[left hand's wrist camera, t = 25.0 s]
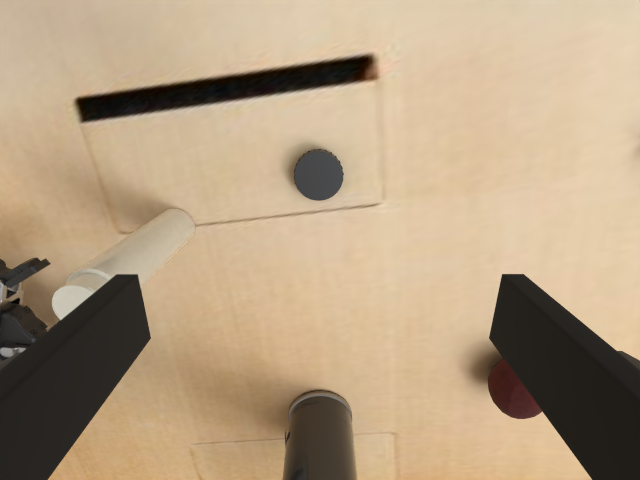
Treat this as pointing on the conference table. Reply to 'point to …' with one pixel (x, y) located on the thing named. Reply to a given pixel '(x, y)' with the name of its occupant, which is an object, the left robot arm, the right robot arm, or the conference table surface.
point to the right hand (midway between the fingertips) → (72, 296)
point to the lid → (318, 175)
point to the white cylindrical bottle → (128, 259)
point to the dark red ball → (511, 393)
